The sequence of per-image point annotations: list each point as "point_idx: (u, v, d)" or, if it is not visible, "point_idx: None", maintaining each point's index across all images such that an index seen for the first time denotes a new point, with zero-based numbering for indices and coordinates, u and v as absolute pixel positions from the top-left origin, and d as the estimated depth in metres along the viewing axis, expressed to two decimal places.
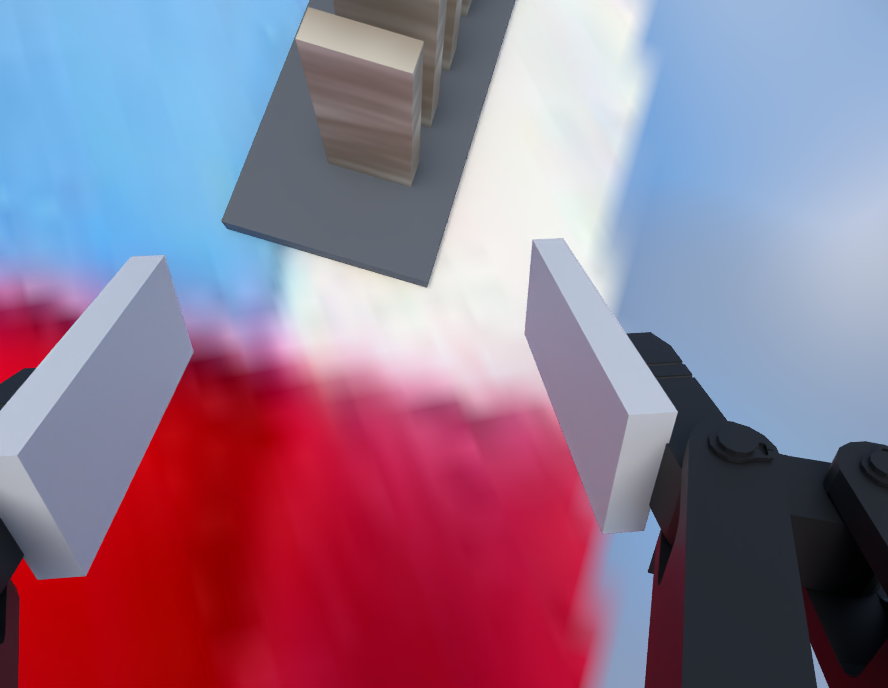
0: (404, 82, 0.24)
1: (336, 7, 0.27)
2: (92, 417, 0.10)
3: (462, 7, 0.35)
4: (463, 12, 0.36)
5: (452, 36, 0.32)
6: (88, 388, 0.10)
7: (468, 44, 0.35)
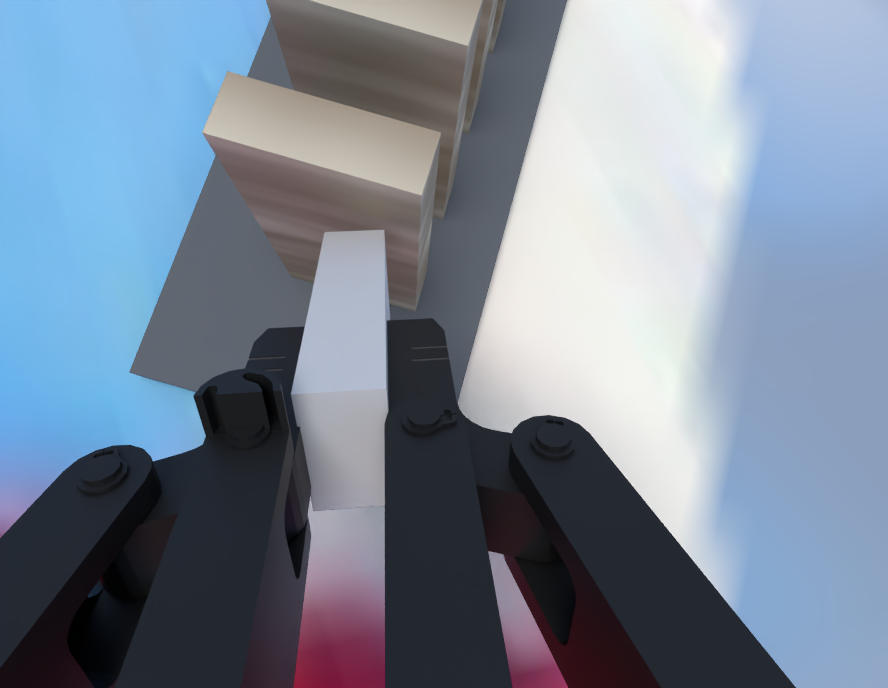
0: (405, 205, 0.13)
1: (288, 61, 0.16)
2: None
3: None
4: None
5: (475, 89, 0.21)
6: None
7: (495, 93, 0.25)
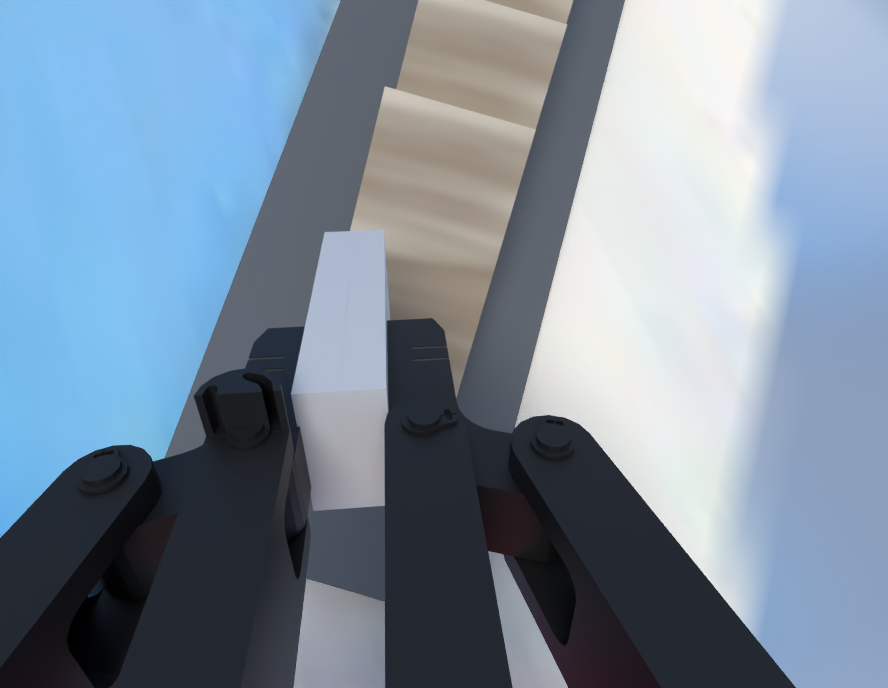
0: (518, 149, 0.18)
1: (406, 62, 0.20)
2: None
3: None
4: None
5: None
6: None
7: (520, 220, 0.24)
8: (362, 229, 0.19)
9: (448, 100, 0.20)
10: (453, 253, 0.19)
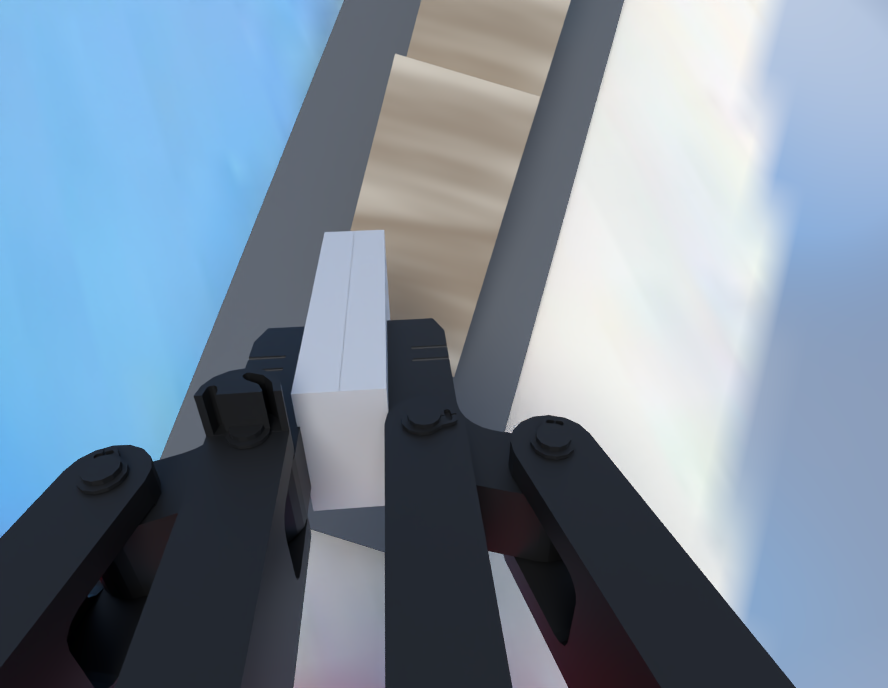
0: (522, 115, 0.19)
1: (416, 32, 0.20)
2: None
3: None
4: None
5: None
6: None
7: (524, 192, 0.24)
8: (371, 192, 0.20)
9: (456, 70, 0.21)
10: (459, 216, 0.20)
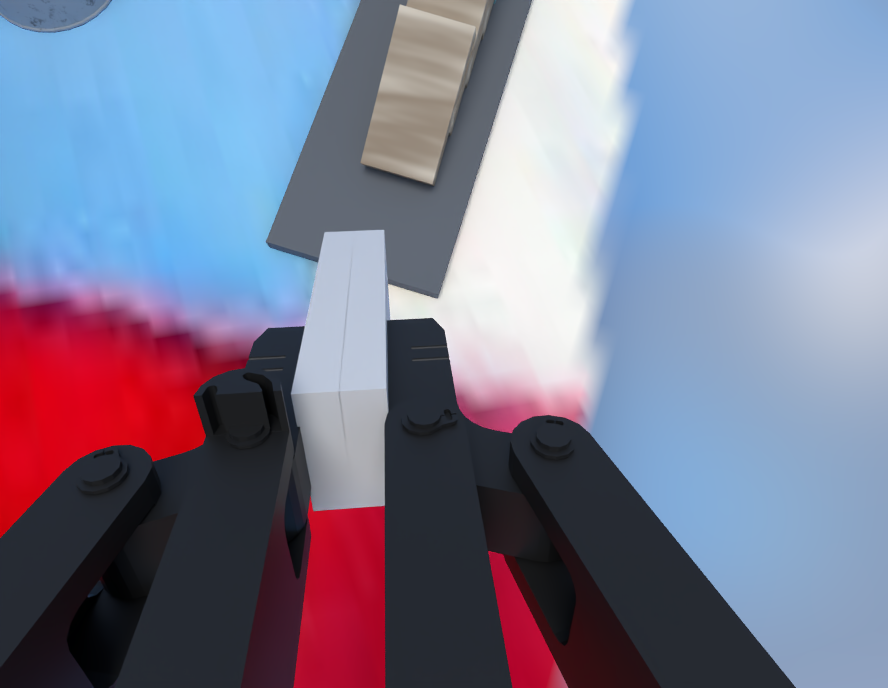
0: (467, 36, 0.37)
1: None
2: None
3: None
4: None
5: None
6: None
7: (474, 91, 0.42)
8: (387, 79, 0.37)
9: None
10: (434, 92, 0.37)
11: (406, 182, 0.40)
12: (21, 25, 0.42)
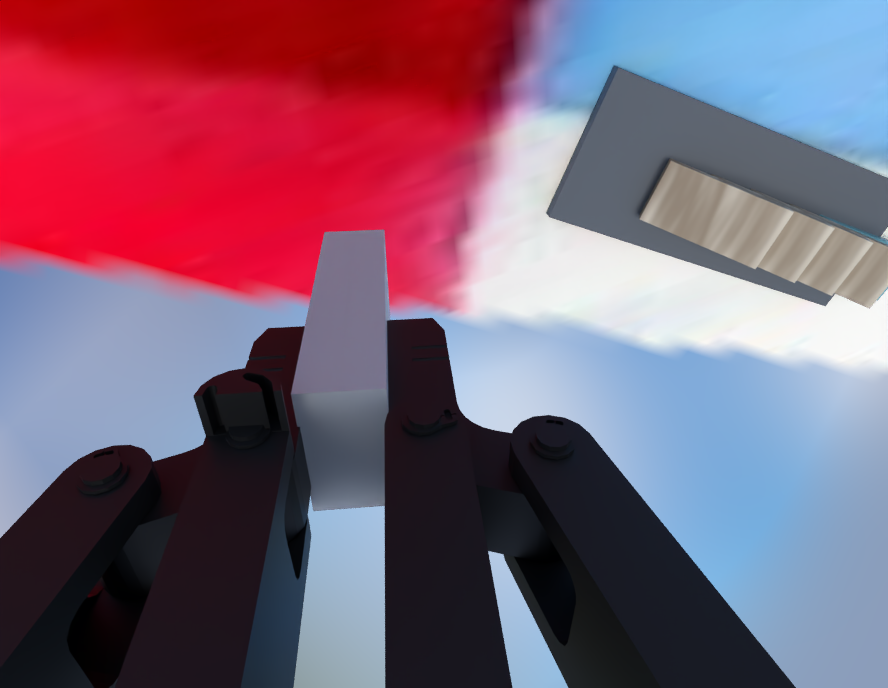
0: (749, 261, 0.46)
1: (802, 216, 0.45)
2: None
3: None
4: None
5: None
6: None
7: None
8: (734, 193, 0.45)
9: None
10: (712, 230, 0.46)
11: (647, 192, 0.48)
12: None
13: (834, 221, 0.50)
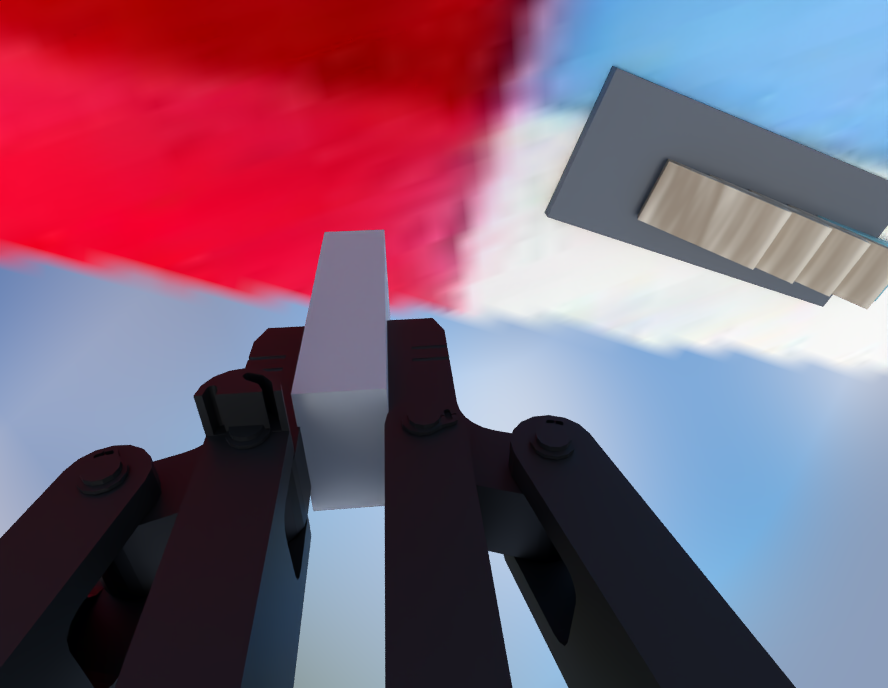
0: (747, 262, 0.46)
1: (800, 217, 0.45)
2: None
3: None
4: None
5: None
6: None
7: None
8: (732, 194, 0.45)
9: None
10: (710, 230, 0.46)
11: (646, 192, 0.48)
12: None
13: (832, 222, 0.50)
